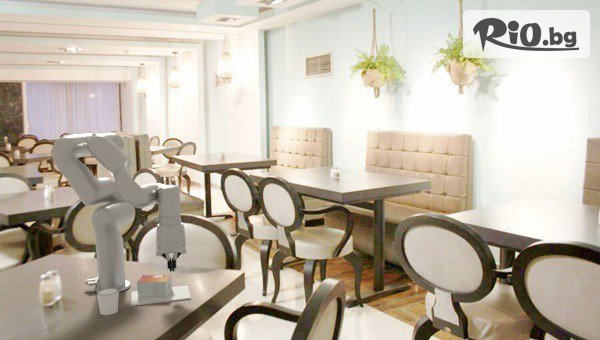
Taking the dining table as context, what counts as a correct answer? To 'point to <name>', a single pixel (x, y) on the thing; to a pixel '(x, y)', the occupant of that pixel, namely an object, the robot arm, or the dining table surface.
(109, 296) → the shot glass
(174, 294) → the mat
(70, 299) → the dining table surface
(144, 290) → the small box
